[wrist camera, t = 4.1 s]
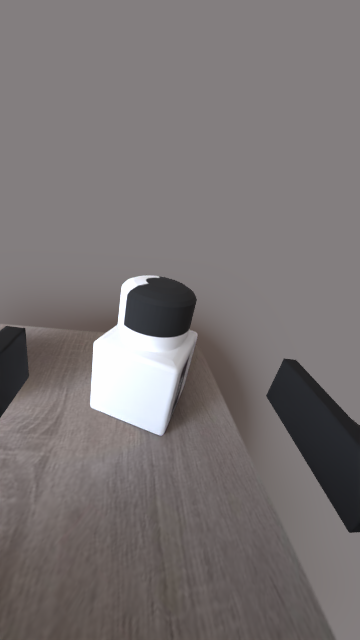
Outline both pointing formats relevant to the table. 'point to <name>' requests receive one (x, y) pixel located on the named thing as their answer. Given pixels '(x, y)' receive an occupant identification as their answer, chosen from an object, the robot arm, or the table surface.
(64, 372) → the table surface
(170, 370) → the container
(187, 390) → the table surface
